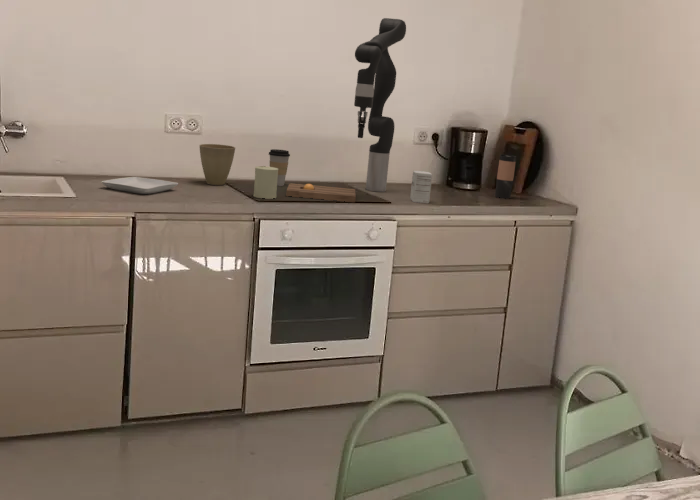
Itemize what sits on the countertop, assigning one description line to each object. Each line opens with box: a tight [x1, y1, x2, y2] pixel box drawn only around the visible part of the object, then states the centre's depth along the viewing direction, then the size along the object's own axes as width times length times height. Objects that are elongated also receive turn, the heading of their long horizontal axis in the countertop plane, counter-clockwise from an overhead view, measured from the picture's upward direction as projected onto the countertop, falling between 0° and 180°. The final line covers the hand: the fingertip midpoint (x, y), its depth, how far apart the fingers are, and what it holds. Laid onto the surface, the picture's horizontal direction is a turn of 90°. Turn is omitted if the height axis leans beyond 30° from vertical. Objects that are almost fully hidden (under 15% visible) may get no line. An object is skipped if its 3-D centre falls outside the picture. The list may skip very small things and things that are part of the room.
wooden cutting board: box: [285, 183, 357, 203], centre depth 331 cm, size 20×28×2 cm
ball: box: [303, 183, 315, 190], centre depth 331 cm, size 4×4×4 cm
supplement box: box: [409, 170, 433, 204], centre depth 340 cm, size 7×7×13 cm
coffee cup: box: [268, 148, 291, 187], centre depth 349 cm, size 9×9×15 cm
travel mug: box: [494, 153, 517, 199], centre depth 375 cm, size 8×8×20 cm
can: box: [252, 165, 278, 200], centre depth 314 cm, size 9×9×12 cm
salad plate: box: [101, 176, 179, 195], centre depth 305 cm, size 21×21×3 cm
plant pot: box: [199, 143, 236, 186], centre depth 334 cm, size 15×15×16 cm
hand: (360, 137), depth 331 cm, fingers closed
